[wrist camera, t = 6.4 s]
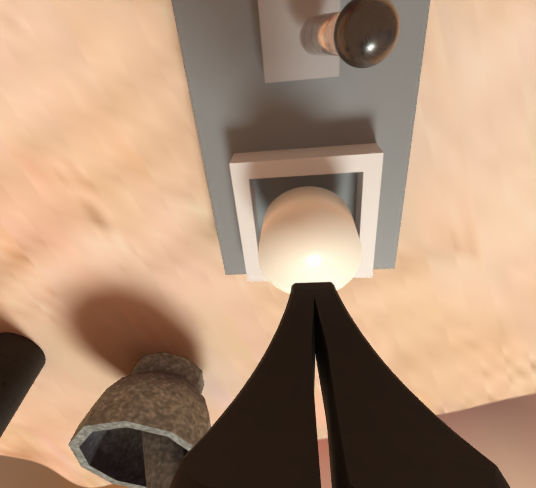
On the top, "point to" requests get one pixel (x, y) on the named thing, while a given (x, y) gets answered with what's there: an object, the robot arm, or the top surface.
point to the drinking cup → (16, 373)
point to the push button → (309, 239)
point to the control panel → (298, 120)
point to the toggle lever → (354, 32)
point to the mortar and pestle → (144, 423)
